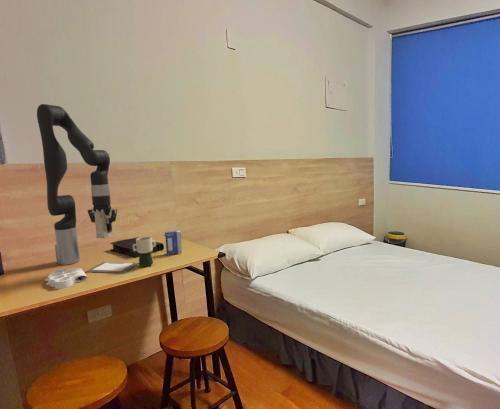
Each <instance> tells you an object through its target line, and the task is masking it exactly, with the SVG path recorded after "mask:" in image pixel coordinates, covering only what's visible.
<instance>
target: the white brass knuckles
mask: <svg viewBox="0 0 500 409" xmlns="http://www.w3.org/2000/svg"><path fill="white" fill-rule="evenodd" d="M79 278H80V279H79ZM86 280H88V275H86V271H84V270H83V269H82V268H79V267H77V268H68V269H67V268H59V269H54V270H51V271H50V274H49V275H48V276H47V278H45V279H44V281H45V282H47V283H45V285H46V286H49V287H52V288H54V289H55V290H63V289H66V288H69V287H72V286H73V285H75V284H76V283H81V282H84V281H86Z"/></svg>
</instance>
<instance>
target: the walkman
mask: <svg viewBox="0 0 500 409" xmlns="http://www.w3.org/2000/svg"><path fill="white" fill-rule="evenodd" d="M164 235H165V238H164V239H165V249H166V250H165V251H166V255H167V256H169V255H172V254H173V255H181V254H180V253H183V248H182V232H181V230H172V231H164Z"/></svg>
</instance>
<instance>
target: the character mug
mask: <svg viewBox="0 0 500 409" xmlns="http://www.w3.org/2000/svg"><path fill="white" fill-rule="evenodd" d="M152 242H154V245H152ZM156 242H157V241H156V240H155V239H153V237H152V236H141V237H140V236H139V238H137V239H136V244H133V251H137V252H138V253H140V255H139V257H138V263H139V264H138V265H139V266H141V267H148V266H151V265H153V264H154V260H153V256H152V253H150V252H151V251H152V250H153V247H155V246H156ZM135 246H136V247H137V249H135Z"/></svg>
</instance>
